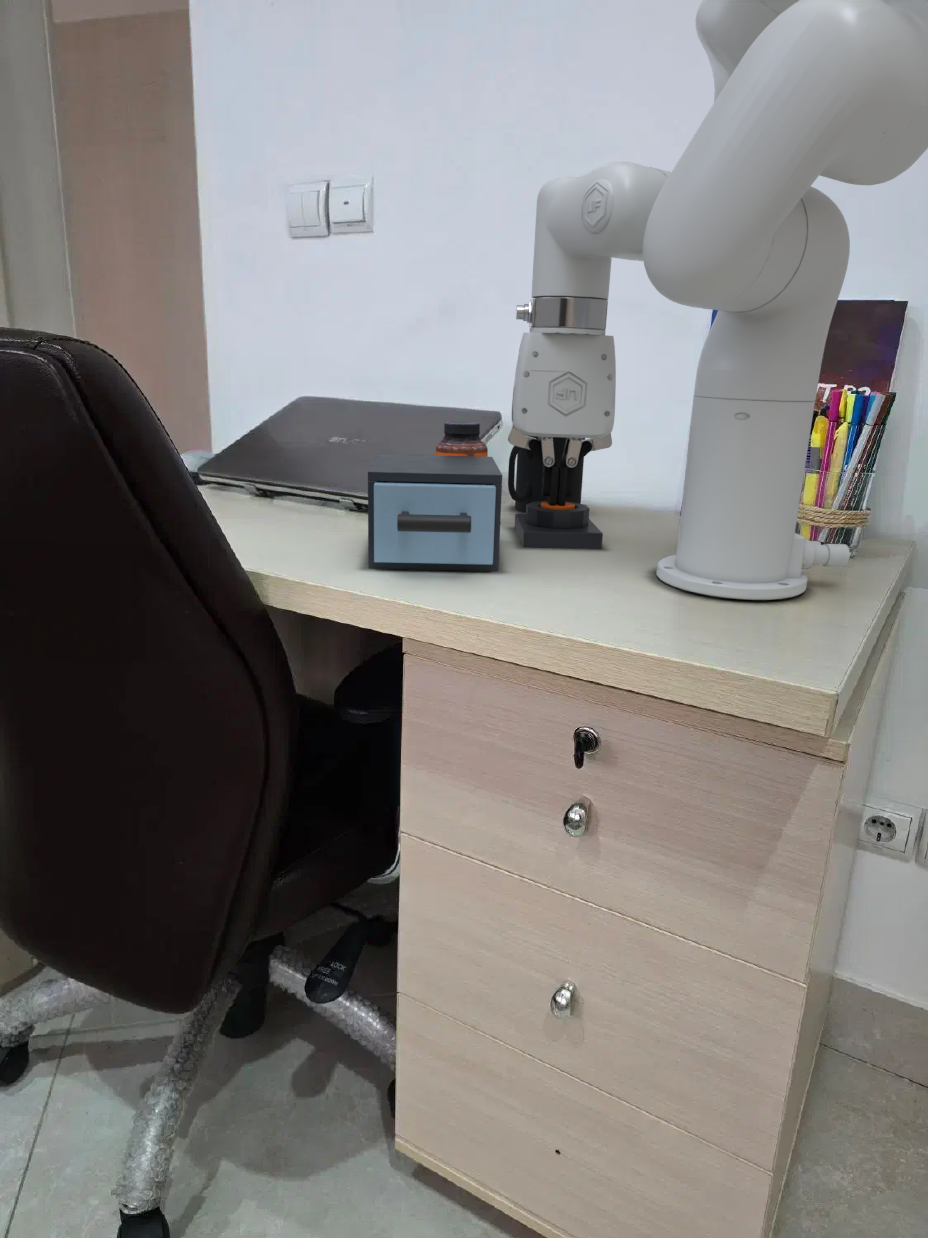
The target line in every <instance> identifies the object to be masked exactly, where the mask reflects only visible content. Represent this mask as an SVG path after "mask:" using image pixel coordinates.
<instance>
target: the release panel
mask: <svg viewBox="0 0 928 1238" xmlns="http://www.w3.org/2000/svg"><path fill="white" fill-rule="evenodd" d="M542 502H547V501H538V502H532V503H529V504H526V513H515V514H514V530H515V532H516V535H517V537H518V539H519V542H520V544H521V546H522V548H524V549H563V550H566V549H567V550H568V549H569V550H602V549H603V538H604V537H603V536H604V535H603V534H604V533H603V532H602V531H601V529H599V528H598V526H596V525H595V523H593V521H592V520H591V519H590V506H589V505H587V504H583V503H581V504H579V503H574V502H569V503H573V504H575V509H568V510H558V509H547V508H542V507H541V503H542Z"/></svg>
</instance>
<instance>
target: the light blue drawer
mask: <svg viewBox="0 0 928 1238" xmlns="http://www.w3.org/2000/svg"><path fill="white" fill-rule="evenodd" d="M495 497H496V487H495V485H486V484H475V483H434V482H392V481H385V482H384V483H376V482H375V484H374V562H390V563H439V564H488V565H492V564H493V547H494V522H495Z"/></svg>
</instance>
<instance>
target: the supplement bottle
mask: <svg viewBox="0 0 928 1238" xmlns="http://www.w3.org/2000/svg"><path fill="white" fill-rule="evenodd" d="M480 427H481V423H480V422H478V421H474V420H449V421H445V422H444V425H443V428H444V430H443V434H444V436H443V437H442V438H441V440H440V441H439V442H438V443H437V444H436V446H435V455H441V456H480V457H489V456H488V455H489V450H488V449H489V448H488V446H487V444H486V443H485V442H484V441H482V439H481V438H480V434H481V430H480V429H481V428H480Z"/></svg>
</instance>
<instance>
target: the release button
mask: <svg viewBox="0 0 928 1238" xmlns="http://www.w3.org/2000/svg"><path fill="white" fill-rule="evenodd" d="M541 507H542V508H547V509H558V510H568V509H575V504H573V503H569V502H565V506H560V505H559V504H555V506H551V505H549V504H548V503H547V502H542V503H541Z"/></svg>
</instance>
